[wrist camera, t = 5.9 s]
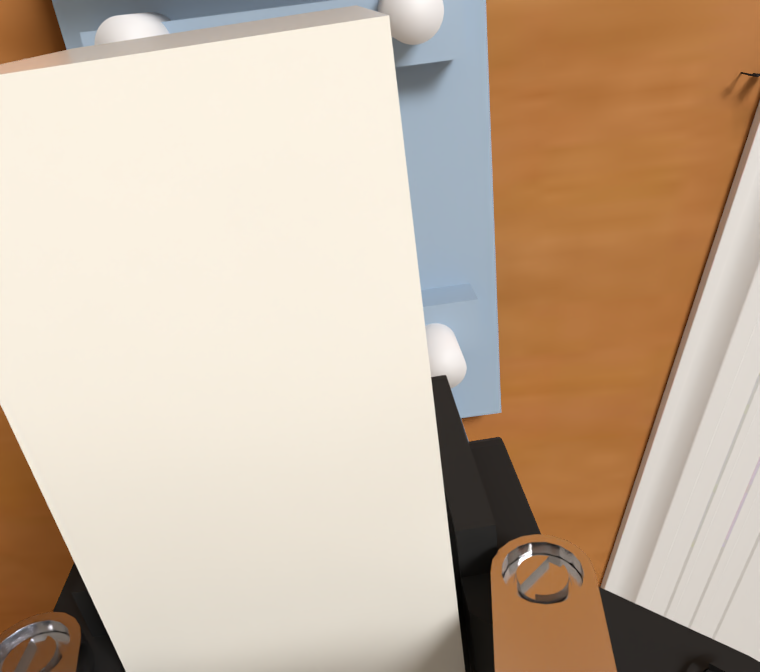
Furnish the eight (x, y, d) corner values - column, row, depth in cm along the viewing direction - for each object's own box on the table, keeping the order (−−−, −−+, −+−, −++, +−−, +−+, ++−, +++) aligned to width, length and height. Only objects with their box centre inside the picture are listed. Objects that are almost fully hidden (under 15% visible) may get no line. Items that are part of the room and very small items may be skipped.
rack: (30, -117, 20) (-57, -151, 15) (470, -171, 20) (516, -221, 15) (194, 439, 29) (170, 524, 24) (494, 397, 29) (527, 472, 24)
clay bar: (74, 48, 9) (-146, 95, 5) (356, 5, 9) (389, 14, 5) (285, 714, 16) (273, 985, 12) (448, 688, 16) (497, 947, 12)
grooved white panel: (546, 655, 38) (743, 653, 40) (563, 704, 35) (773, 699, 37) (722, 68, 24) (1014, 97, 26) (770, 77, 22) (1093, 108, 23)
